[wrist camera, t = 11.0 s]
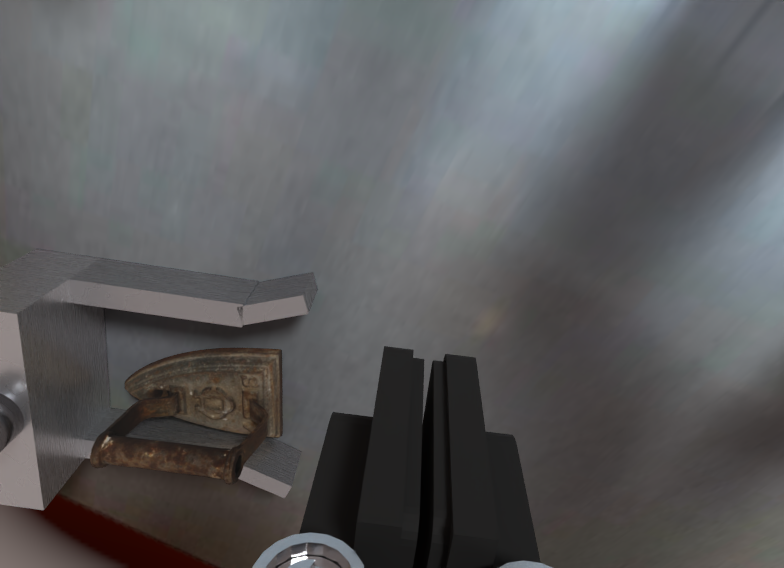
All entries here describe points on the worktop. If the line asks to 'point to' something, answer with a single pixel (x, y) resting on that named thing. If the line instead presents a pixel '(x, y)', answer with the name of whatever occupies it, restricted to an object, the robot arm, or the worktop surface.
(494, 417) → the worktop surface
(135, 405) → the clothes iron
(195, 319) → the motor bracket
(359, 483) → the robot arm
